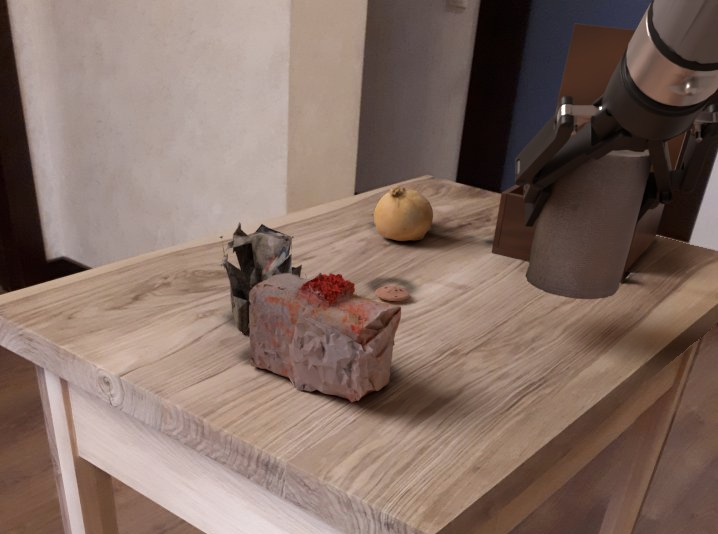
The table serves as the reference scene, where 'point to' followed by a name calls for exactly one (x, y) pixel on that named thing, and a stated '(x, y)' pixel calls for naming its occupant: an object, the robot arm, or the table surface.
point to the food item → (322, 334)
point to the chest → (519, 238)
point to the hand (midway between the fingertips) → (577, 216)
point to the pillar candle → (589, 226)
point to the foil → (255, 266)
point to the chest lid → (599, 69)
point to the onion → (403, 215)
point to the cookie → (392, 293)
